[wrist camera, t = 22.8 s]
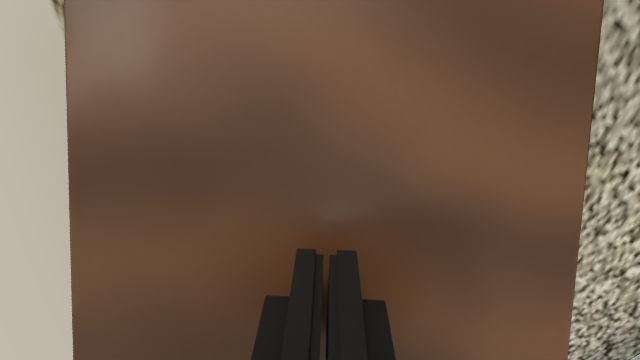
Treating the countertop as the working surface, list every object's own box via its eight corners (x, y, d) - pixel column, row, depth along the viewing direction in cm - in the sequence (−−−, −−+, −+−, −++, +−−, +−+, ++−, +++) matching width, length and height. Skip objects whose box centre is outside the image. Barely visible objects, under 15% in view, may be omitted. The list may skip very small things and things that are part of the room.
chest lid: (538, 485, 12) (553, 509, 12) (91, 466, 13) (75, 487, 12) (597, -118, 11) (620, -140, 10) (77, -134, 11) (58, -156, 10)
